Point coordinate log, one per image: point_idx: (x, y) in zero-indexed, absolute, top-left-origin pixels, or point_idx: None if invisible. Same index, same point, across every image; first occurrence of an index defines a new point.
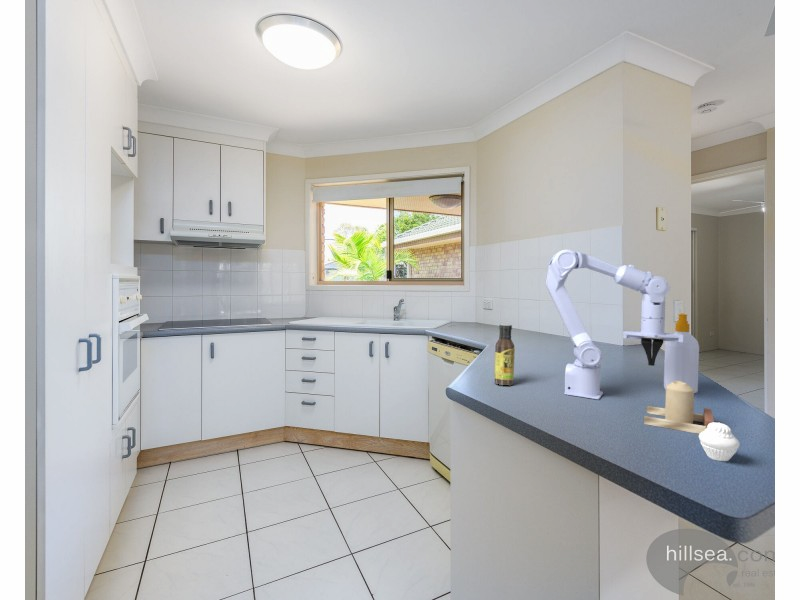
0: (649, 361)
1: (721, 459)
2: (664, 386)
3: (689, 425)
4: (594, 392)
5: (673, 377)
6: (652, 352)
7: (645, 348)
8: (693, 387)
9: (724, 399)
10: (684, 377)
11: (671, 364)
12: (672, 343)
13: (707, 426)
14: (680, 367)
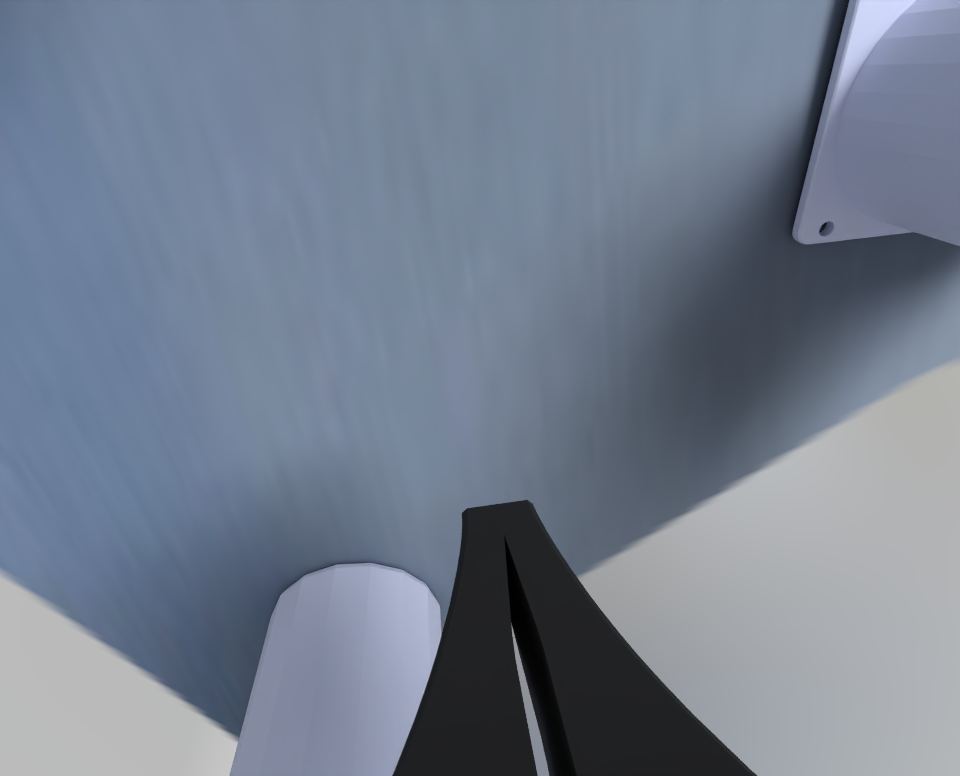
0: (530, 536)
1: None
2: (433, 602)
3: None
4: (931, 13)
5: (373, 650)
6: (518, 692)
7: (696, 753)
8: (273, 626)
9: (122, 593)
10: (304, 668)
11: (386, 759)
12: None
13: None
14: (317, 743)
